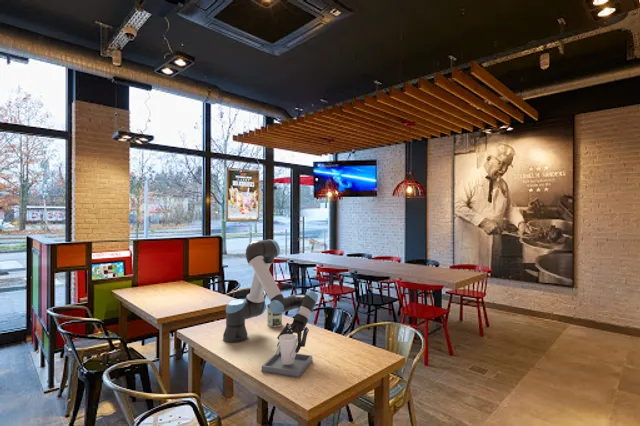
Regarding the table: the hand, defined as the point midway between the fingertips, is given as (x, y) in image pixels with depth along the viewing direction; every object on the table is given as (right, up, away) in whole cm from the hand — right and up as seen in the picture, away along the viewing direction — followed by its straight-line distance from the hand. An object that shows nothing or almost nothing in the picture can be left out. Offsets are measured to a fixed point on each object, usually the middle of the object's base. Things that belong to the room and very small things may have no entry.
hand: (284, 355), depth 178 cm
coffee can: (-14, -6, +69) cm, 70 cm away
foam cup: (+2, -5, +3) cm, 6 cm away
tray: (+2, -7, +3) cm, 7 cm away
